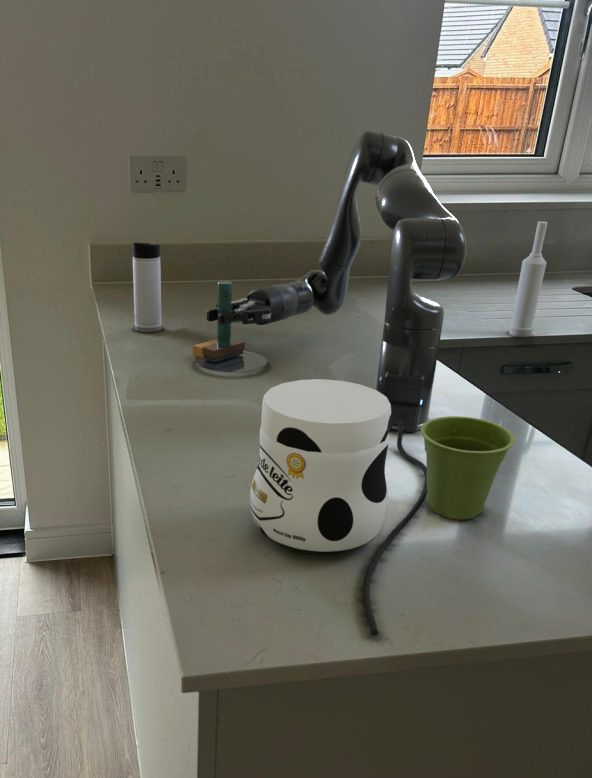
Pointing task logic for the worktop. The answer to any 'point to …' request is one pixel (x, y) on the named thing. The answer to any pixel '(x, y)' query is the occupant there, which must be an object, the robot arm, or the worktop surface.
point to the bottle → (529, 287)
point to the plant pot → (462, 463)
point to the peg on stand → (223, 330)
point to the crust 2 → (213, 341)
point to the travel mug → (147, 287)
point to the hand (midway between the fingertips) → (214, 317)
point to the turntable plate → (234, 363)
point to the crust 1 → (199, 348)
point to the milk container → (321, 465)
